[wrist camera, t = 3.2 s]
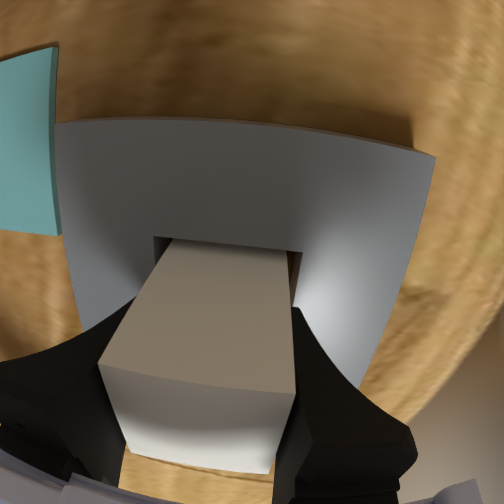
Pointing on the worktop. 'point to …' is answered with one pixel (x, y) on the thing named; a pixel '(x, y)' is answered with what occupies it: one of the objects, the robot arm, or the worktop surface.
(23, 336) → the worktop surface
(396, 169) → the grey slotted board
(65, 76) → the worktop surface
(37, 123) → the mat
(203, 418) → the plug
